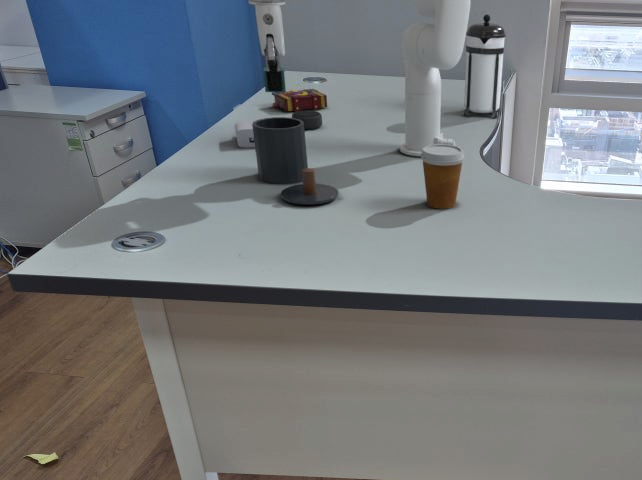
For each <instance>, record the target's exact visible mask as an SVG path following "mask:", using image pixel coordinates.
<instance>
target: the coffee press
mask: <svg viewBox="0 0 642 480" xmlns="http://www.w3.org/2000/svg"><path fill="white" fill-rule="evenodd" d="M482 18H483V21H484V22H476V23H473V24H471V25H469V26H468V27H467V31H466V44H465V52H466V53H465V54H466V55H465V72H464V73H465V75H464V78H465V79H464V97H463V98H464V103H463V104H464V105H463V106H464V111H463V116H464V117H467V118H468V117H469V116H470V115H471V114H472V113H477V114H478V113H479V114H489V115H490V117H491V118H492V119H497V118H498V113H499V111H500V105H501V93H502V78H503V67H504V65H503V64H504V53H505V49H506V48H505V39H506V37H507V33H506V32H505V29H504V27H503V26H502V25H500V24H498V23H491V15H489V14H485V15H484V16H483V17H482Z"/></svg>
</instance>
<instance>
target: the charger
mask: <svg viewBox="0 0 642 480" xmlns="http://www.w3.org/2000/svg"><path fill="white" fill-rule="evenodd" d="M254 121H255V120H254ZM254 121H253V120H252V121H238V122H235V124H234V129H235V135H236V137H235V138H236V141H237V145H238V147H239V148H255V142H254V134H253V126H252V124H253V122H254Z"/></svg>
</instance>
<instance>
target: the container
mask: <svg viewBox="0 0 642 480" xmlns="http://www.w3.org/2000/svg"><path fill="white" fill-rule="evenodd" d="M252 126H253V134H254V142H255V147H254V148H255V157H256V164H257V171H258V178H259V180H260V181H262V182H264V183H267V184H274V185H288V184H289V185H290V184H296V183H300V182H302V171H301V170H302V169H305V168H309V166H308V155H307V144H306V131H305V129H304V121H302V120H300V119H295V118H292V117H286V116H285V117H284V116H274V117H265V118H260V119H257V120H254V122H253V124H252Z"/></svg>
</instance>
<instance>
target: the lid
mask: <svg viewBox="0 0 642 480" xmlns="http://www.w3.org/2000/svg"><path fill="white" fill-rule="evenodd" d="M301 171H302V181H301V182H302V183H301V184H300V183H299V184H294V185H290V186H288V187H285V188H284V189H282V190H281V192H280V196H281V199H282V200H283V201H285V202H288V203H290V204H291V203H292V204H296V205H306V206H307V205H321V204H325V203H330V202H332V201H334V200H337V198H338V197H339V190H338V188H336V187H335V186H332V185H329V184H324V183H316V173H315V172H316V170H315V169H314V168H311V167H308V168H305V169H302V170H301Z"/></svg>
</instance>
